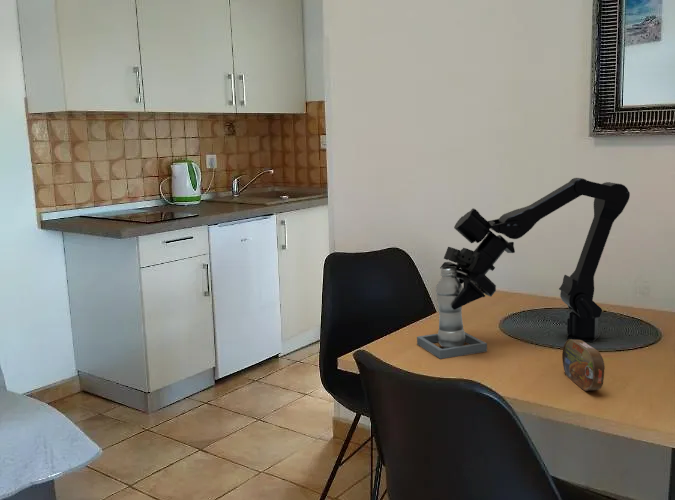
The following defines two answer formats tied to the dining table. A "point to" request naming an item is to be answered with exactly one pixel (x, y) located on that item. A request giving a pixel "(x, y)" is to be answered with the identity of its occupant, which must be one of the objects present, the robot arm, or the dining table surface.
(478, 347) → the frame
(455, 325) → the plastic bottle
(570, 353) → the tin
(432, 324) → the dining table surface
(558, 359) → the dining table surface
